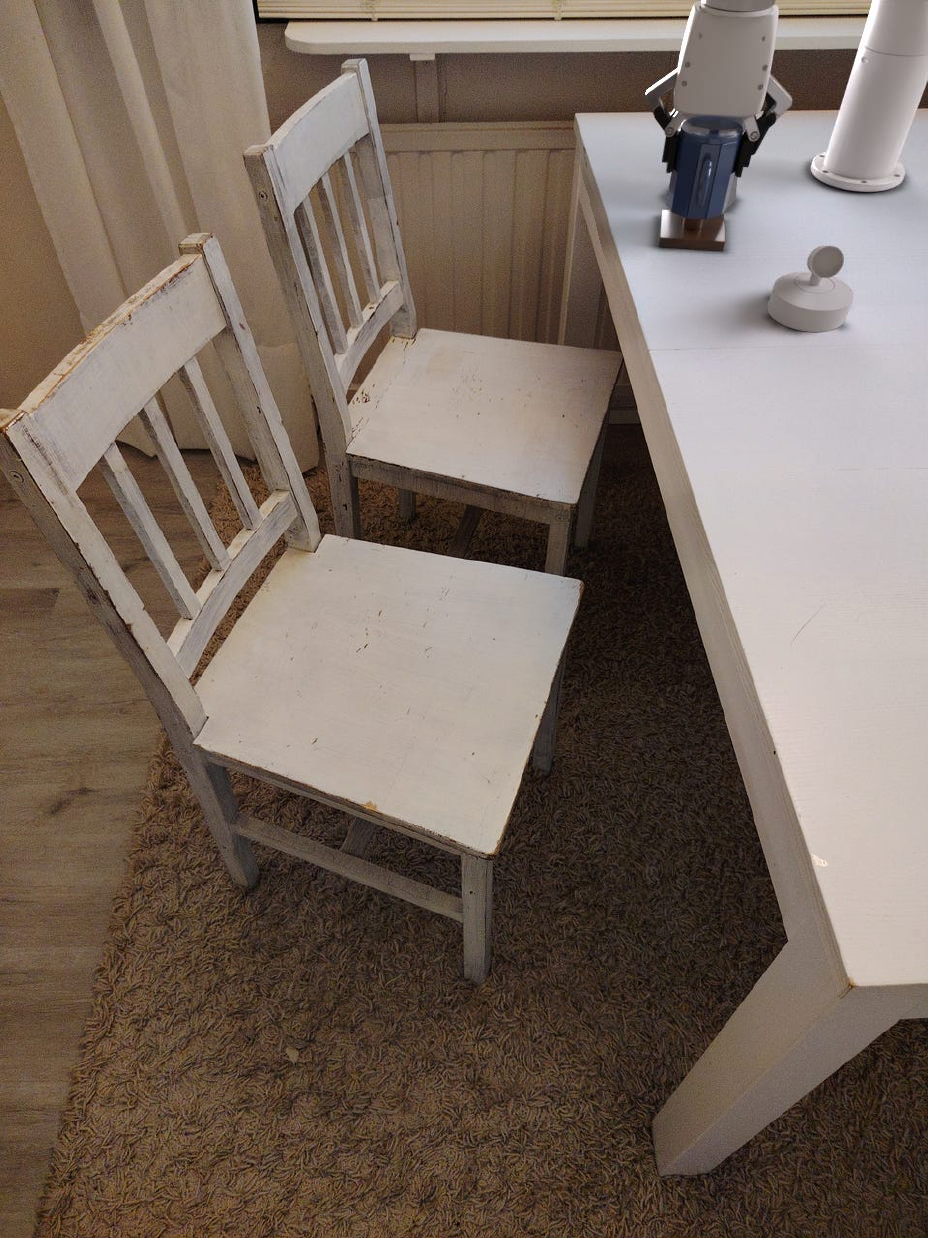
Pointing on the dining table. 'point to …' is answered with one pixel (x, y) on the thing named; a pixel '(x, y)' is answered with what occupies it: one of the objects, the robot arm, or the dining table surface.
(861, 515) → the dining table surface
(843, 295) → the wall hook
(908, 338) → the dining table surface
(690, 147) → the cup
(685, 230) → the cup stand
